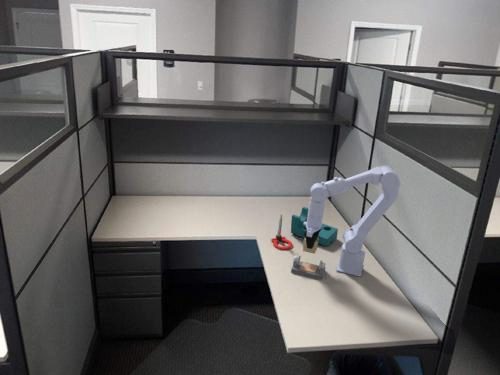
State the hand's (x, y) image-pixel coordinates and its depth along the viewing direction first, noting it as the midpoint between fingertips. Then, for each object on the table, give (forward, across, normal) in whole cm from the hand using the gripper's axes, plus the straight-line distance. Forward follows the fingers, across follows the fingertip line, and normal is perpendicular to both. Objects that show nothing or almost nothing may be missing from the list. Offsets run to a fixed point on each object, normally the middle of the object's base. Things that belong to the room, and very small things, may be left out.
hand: (311, 245), depth 160 cm
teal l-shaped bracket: (+9, -24, -3) cm, 26 cm away
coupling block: (+2, 0, 0) cm, 2 cm away
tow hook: (+9, -10, -14) cm, 20 cm away
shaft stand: (+8, +5, +1) cm, 10 cm away
